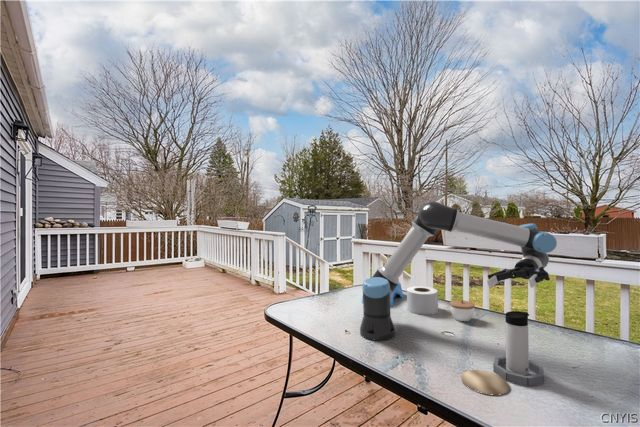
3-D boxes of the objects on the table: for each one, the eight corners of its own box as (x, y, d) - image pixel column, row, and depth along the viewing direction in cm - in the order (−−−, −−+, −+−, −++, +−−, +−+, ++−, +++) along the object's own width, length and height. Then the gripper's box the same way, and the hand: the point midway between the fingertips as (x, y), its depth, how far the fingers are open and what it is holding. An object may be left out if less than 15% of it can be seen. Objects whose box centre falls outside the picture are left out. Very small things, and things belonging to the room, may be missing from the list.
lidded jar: (446, 316, 155) (445, 297, 155) (466, 314, 156) (466, 296, 156) (457, 324, 144) (457, 304, 144) (479, 322, 145) (479, 302, 145)
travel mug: (533, 379, 98) (532, 316, 97) (510, 378, 99) (509, 315, 99) (525, 369, 104) (523, 309, 104) (503, 367, 105) (502, 309, 105)
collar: (516, 388, 94) (516, 380, 94) (484, 365, 107) (484, 358, 107) (555, 382, 96) (554, 374, 96) (519, 360, 110) (519, 353, 109)
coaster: (480, 398, 89) (480, 396, 89) (452, 374, 102) (452, 372, 102) (519, 391, 92) (519, 389, 92) (487, 369, 105) (487, 367, 105)
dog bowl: (386, 309, 169) (386, 294, 169) (355, 304, 180) (355, 289, 180) (407, 294, 197) (407, 280, 196) (379, 290, 207) (379, 277, 207)
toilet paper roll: (440, 307, 168) (440, 287, 168) (434, 316, 155) (433, 295, 155) (411, 303, 177) (411, 284, 176) (403, 311, 163) (402, 291, 163)
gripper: (569, 275, 114) (554, 294, 101) (497, 277, 133) (476, 294, 120) (563, 255, 115) (547, 271, 101) (492, 260, 134) (471, 274, 120)
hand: (509, 283), depth 110 cm, fingers open, 13 cm apart
